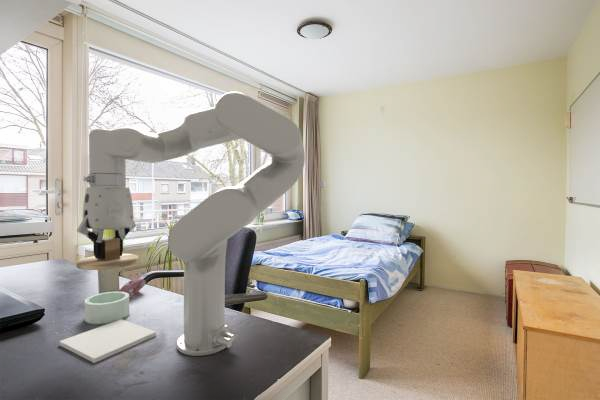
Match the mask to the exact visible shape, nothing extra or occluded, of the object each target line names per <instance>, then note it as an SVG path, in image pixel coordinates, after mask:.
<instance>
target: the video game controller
mask: <svg viewBox="0 0 600 400" xmlns="http://www.w3.org/2000/svg"><path fill="white" fill-rule="evenodd" d="M146 283H147V281H146V280H144V279H143V278H140V277H138V278H133V279H130V280H129V281H128V282H126V283H125V284H124V285H123V286H122V287H121V288H119V291H117V292H126V293H129V298H130V297H132V296H133V294H134V295H137V294H138V293H139V291H141V290H142V289H143V287H145V285H146Z"/></svg>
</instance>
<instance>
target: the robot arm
mask: <svg viewBox="0 0 600 400" xmlns="http://www.w3.org/2000/svg"><path fill="white" fill-rule="evenodd" d="M88 135H89V136H88V156H89V157H88V158H89V159H88V161H89V165H88V167H89V168H88V169H89V173H88V175H85V176H84V177H83V182H84V183H88V185H89V186H87V187H86V189H85V193H84V200H83V206H82V221H81V222H80V224H79V225H78V228H77V230H76V232H77V233H79V234H80V235H83V236H86V237H87V238H88V239H89V240H90V241H91V242H92V243H93V256H95V258H97V259H104V258H105V243H104V242H103V238H104V231H106V230H112V229H113V237H114V238H120V256H122V254H123V251H124V240H125V239H126V236H127V235H128V234H129V232H130V231H132V230H134V228H136V227H137V224H136V223H135V221H134V220H135V217H134V208H133V207H134V206H133V205H134V204H133V198H132V193H131V190H130V187H126V185H127V184H126V183H127V181H126V180H127V179H126V178H127V177H126V175H127V174H126V173H127V172H126V164H127V163H126V160H129V161H135V162H143V163H150V164H156V163H161V162H166V161H169V160H170V161H171V160H173V159H177V158H182V157H185V156H187V155H190V154H192V153H194V152H197V151H199V150H200V149H205V148H208V147H213V146H216V145H220V144H224V143H228V142H232V141H237V140H241V139H242V140H244V141H245V142H247V143H248V144H249V143H250V144H251V145H253V146H254V147H256V148H258V149H260V150H261V151H264V152H265V153H267V154H269V155H270V157H269V159H268V161H267V162H266V163H264V164H263V165H262V166H260V167H259V168H258V169H256V170H255V171H254V172H253V173H252V174H250V175H249V176H248V177H246V178H245V179H244V180H243V181H241V182H240V183H238V184H236V185H234V186H233V185H231V186H226V187H225V186H224V187H222V188H220V189H218V190H216V191H215V192H213V193H211V195H209V196H208V197H206V198H205V199H204V200H203V201H202V202H200V203H198V204H197V206H195V207H194V208H193V209H191V210H190V211H188V212H187V213H186V214H185V215H183V216H182V217H181V218H180V219H178V220H177V221H176V223H174V224H173V225H172V227H171V229H170V231H169V232H168V237H167V246H168V250H169V251H170V253H171V254H172V256H174V257H175V258H176V259H178V260H180V261H183V262H184V265H183V266H184V267H183V268H184V269H183V334H182V335H181V336H180V337H178V339H177V340H176V348H177V351H179V352H180V353H181V354H183V355H186V356H192V357H197V356H198V357H202V356H209V355H212V354H216V353H218V352H219V353H220V352H221V351H223V350H224V349H226V348H228V349H229V348H231V347H232V345H233V341H235V339H236V335H235V334H234V333H230V332H229V330H228V327H229V326H228V324H226V323H225V320H226V319H225V314H226V313H225V308H226V307H225V305H226V304H225V303H226V299H225V295H226V291H225V290H226V289H225V288H226V287H225V286H226V281H225V280H226V255H227V249H228V239H230V238H232V237H233V236H234V235H235V234H237V233H238V232H240V230H242V229H243V228H244V227H246V226H248V225H250V224H251V223H252V222H253V221H254V220H255V219H256V218H257V217H258V216H259V215H260V214H261V213H262V212H264V211H265V210H266V209H268V208H269V207H270V206H271V205H273V203H275V202H276V201H277V200H279V198H281V197H282V196H283V195H285V193H287V192H288V191H289V190H291V188H292V187H294V185H296V183H297V182H298V180H299V178H300V177H301V175H302V173H303V170H304V166H305V160H306V159H305V158H306V157H305V154H306V153H305V146H304V140H303V136H302V134H301V130H300V128H299V126H297V124H296V123H295V122H294V121H293V120H292V119H290V118H288V117H287V116H286V115H283V114H282V113H279V112H278V111H276V110H274V109H272V108H270V107H268V106H266V105H265V104H263V103H261V102H259V101H258V100H256V99H254V98H253V97H251V96H249V95H248V94H245V93H243V92H239V91H229V92H226V93H224V94H222V95H221V96H219V98H218V99H217V101H216V102H215V105H214V107H209V108H206V109H201V110H198V111H192V112H189V113H188V114H186V115H185V117H184V121H183V123H182V124H181V125H179V126H178V127H176V128H172V129H169V130H165V131H160V132H157V133H152V132H150V131H147V130H144V129H143V130H142V129H140V128H136V127H123V128H116V129H107V128H95V129H92V130H90V132H89V134H88Z"/></svg>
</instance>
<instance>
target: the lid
mask: <svg viewBox="0 0 600 400" xmlns="http://www.w3.org/2000/svg"><path fill="white" fill-rule="evenodd" d="M103 242H104V243H105V258H104V259H97V258H95V256H94V255H93V256H92V255H91V256H88V257H87V256H86V257H84V258H81V259H78V260H77V261H76V262H75V263H76V268H77V269H79V270H85V271H88V270H89V271H94V270H95V271H98V270H105V269H114V268H119V269H121V268H125V267H129V266H133V265H136V264H138V263H139V256H138V254H134V253H122V256H120V238H114V236H113V237H110V236H109V237H103Z"/></svg>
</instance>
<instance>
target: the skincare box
mask: <svg viewBox="0 0 600 400" xmlns="http://www.w3.org/2000/svg"><path fill="white" fill-rule="evenodd" d="M119 269H120V268H114V269H105V270H97V283H98V286H97V287H98V294H100V293H106V292H117V291H119V290H120V271H119Z"/></svg>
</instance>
